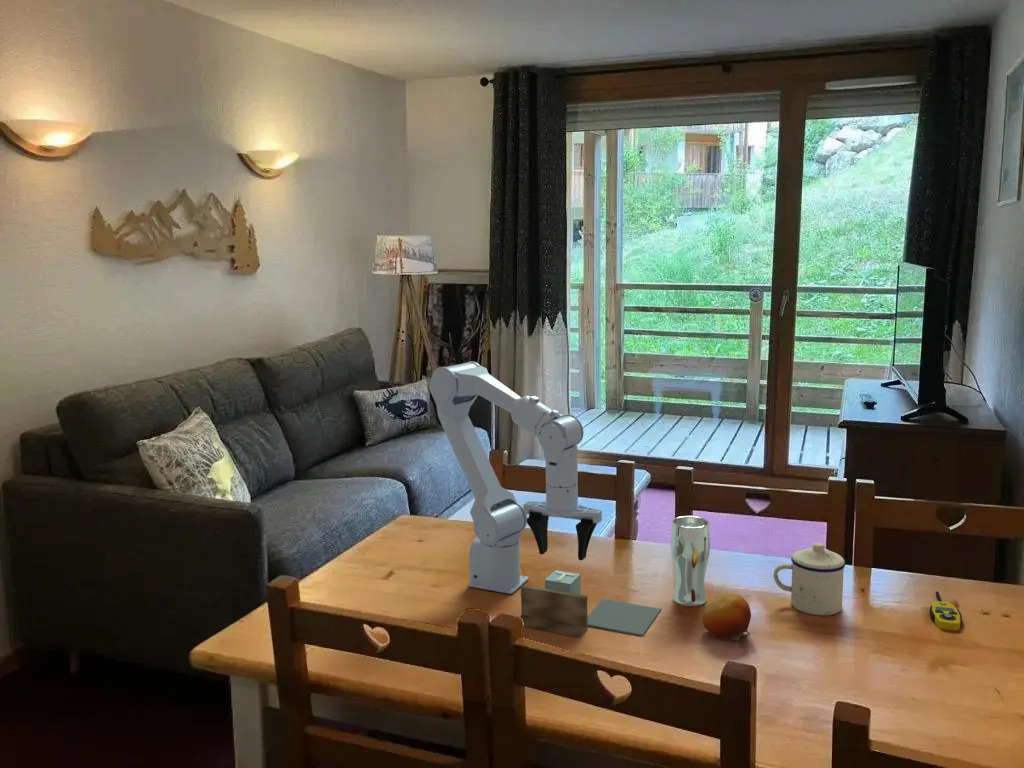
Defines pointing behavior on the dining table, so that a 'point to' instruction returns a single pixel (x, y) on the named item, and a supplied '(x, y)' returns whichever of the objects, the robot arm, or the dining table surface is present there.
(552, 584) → the letter block
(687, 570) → the beer glass
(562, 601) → the screen
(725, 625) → the fruit
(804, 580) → the teacup with lid
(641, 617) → the mat
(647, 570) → the dining table surface
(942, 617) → the yellow walkie talkie
